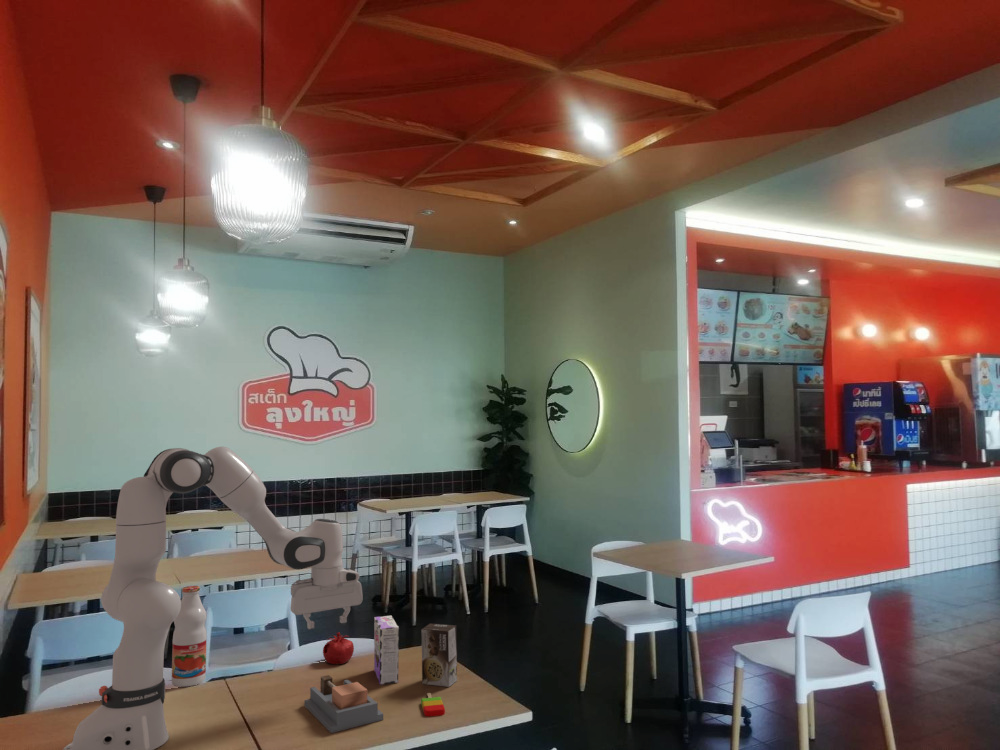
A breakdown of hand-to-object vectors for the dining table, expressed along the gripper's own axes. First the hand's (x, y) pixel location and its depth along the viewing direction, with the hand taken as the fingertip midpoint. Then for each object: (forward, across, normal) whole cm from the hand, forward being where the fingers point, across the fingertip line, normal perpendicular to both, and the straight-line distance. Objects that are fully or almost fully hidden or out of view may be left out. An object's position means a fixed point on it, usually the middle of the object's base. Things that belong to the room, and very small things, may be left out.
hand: (327, 625), depth 197 cm
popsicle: (+21, +22, -22) cm, 37 cm away
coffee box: (+20, +32, -8) cm, 39 cm away
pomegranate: (+20, +14, +28) cm, 37 cm away
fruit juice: (+20, -30, +36) cm, 51 cm away
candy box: (+20, +21, +6) cm, 30 cm away
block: (+19, 0, -10) cm, 22 cm away
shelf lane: (+20, 0, -13) cm, 24 cm away
